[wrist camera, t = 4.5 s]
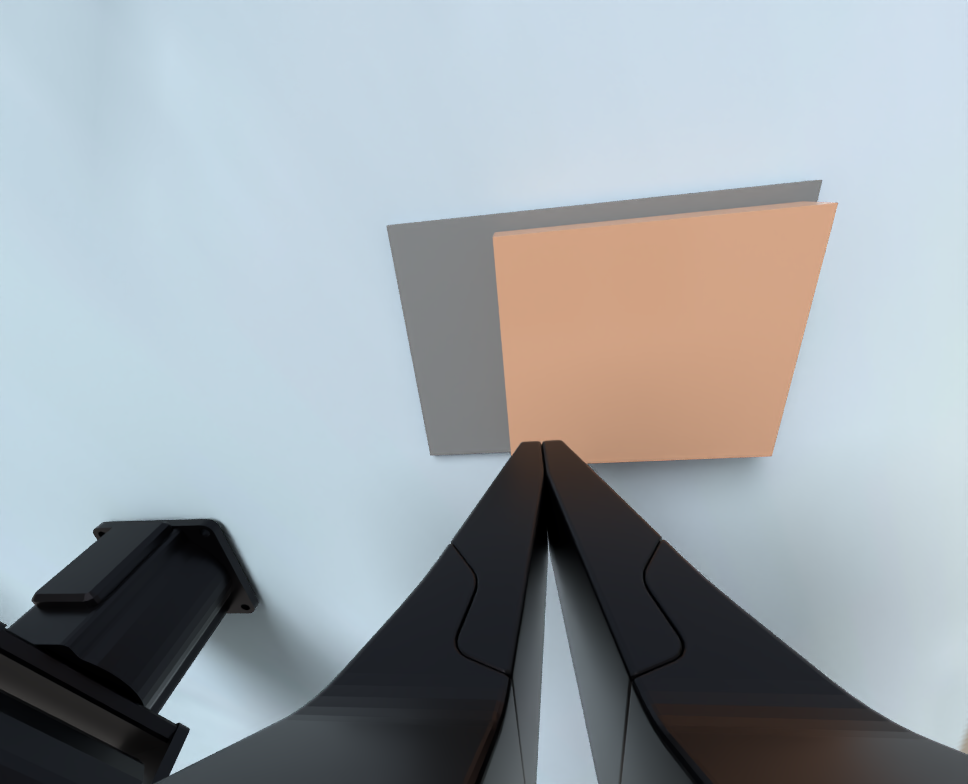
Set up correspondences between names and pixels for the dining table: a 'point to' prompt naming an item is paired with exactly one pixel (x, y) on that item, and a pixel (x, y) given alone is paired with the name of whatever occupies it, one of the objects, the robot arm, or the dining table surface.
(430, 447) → the mat
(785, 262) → the tile
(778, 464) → the dining table surface
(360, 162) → the dining table surface
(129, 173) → the dining table surface
